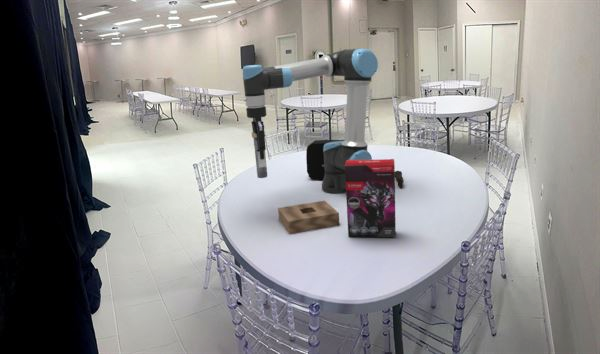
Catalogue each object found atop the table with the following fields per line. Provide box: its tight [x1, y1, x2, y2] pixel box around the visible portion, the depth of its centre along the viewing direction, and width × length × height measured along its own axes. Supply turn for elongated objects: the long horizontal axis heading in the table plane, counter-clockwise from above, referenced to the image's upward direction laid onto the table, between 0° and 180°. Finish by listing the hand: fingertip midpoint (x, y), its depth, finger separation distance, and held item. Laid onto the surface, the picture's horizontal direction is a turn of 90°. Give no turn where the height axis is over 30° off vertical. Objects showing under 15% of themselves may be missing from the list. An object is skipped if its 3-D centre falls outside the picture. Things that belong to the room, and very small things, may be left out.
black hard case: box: [305, 139, 345, 182], centre depth 228 cm, size 30×12×20 cm, turn 72°
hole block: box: [277, 200, 340, 235], centre depth 174 cm, size 20×16×5 cm
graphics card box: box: [345, 158, 397, 238], centre depth 156 cm, size 17×7×27 cm, turn 79°
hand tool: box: [395, 170, 404, 189], centre depth 216 cm, size 19×4×5 cm, turn 170°
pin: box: [251, 130, 268, 179], centre depth 174 cm, size 5×5×18 cm
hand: (261, 165), depth 175 cm, fingers closed on pin, 4 cm apart
